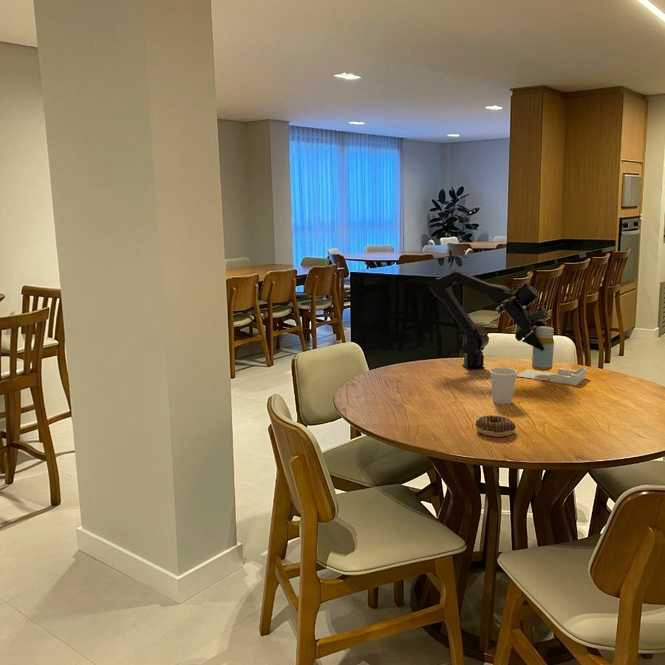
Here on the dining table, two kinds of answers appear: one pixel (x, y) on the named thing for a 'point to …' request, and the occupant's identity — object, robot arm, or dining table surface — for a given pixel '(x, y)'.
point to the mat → (535, 375)
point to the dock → (569, 376)
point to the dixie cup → (502, 384)
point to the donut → (495, 426)
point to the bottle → (545, 357)
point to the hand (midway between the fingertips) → (546, 348)
